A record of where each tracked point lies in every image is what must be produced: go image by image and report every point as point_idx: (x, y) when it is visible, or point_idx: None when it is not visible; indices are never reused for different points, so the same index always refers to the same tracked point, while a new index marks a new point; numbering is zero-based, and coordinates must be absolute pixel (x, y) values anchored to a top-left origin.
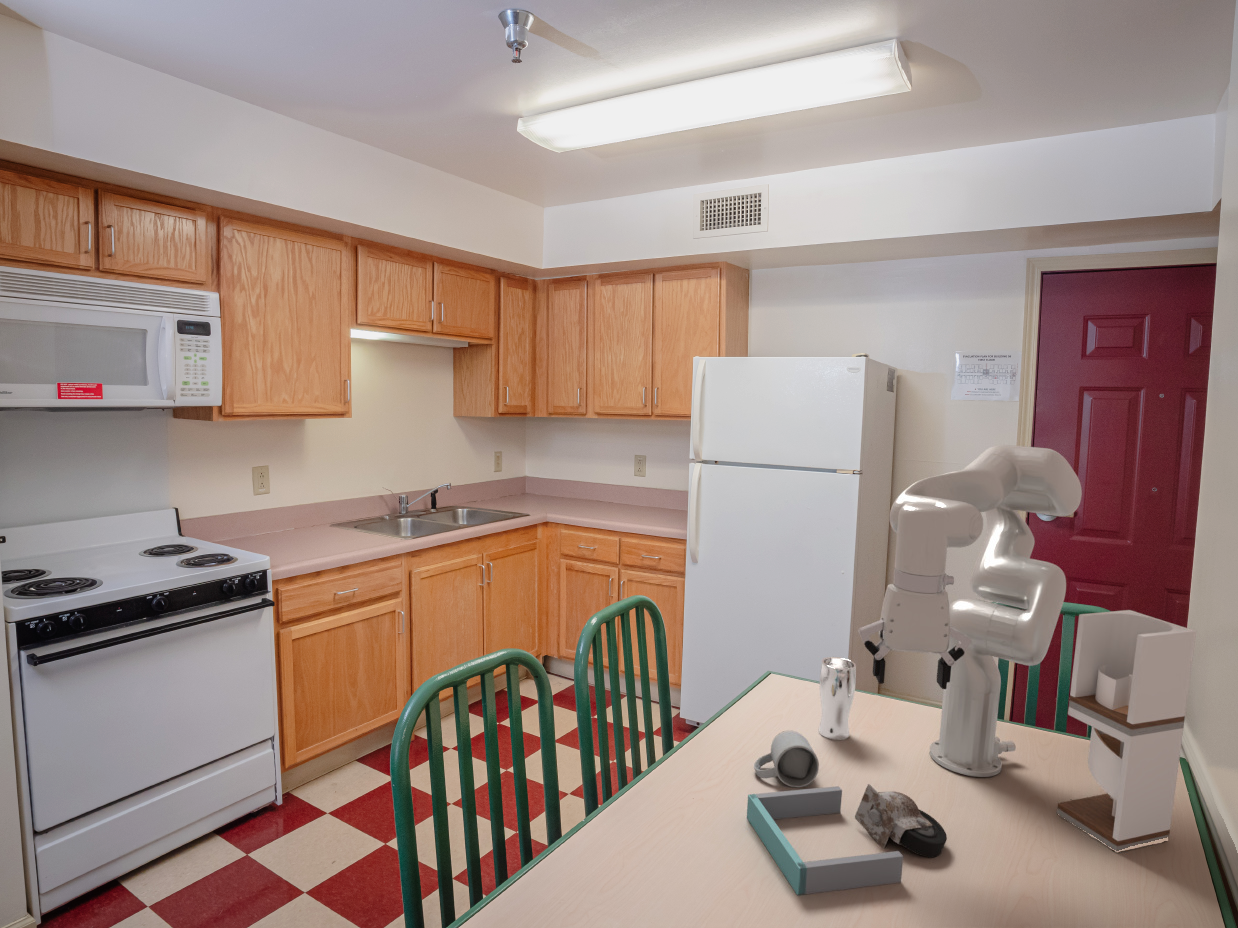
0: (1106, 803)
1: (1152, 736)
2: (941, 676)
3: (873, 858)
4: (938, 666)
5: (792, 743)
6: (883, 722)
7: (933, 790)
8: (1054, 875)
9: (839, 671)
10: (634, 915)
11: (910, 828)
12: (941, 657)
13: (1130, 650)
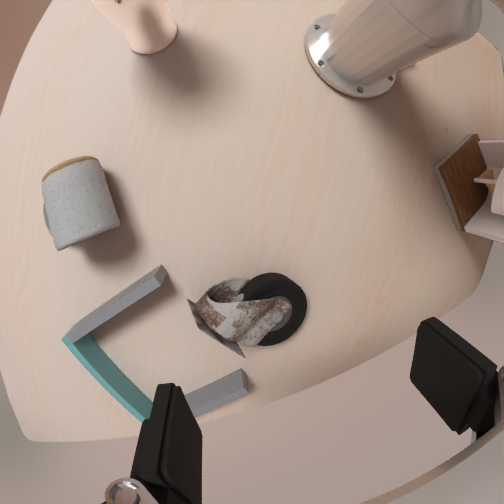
0: (474, 155)
1: None
2: (432, 395)
3: (217, 405)
4: (458, 367)
5: (61, 236)
6: None
7: (304, 152)
8: (398, 295)
9: None
10: (76, 439)
11: (261, 339)
12: (488, 403)
13: None
